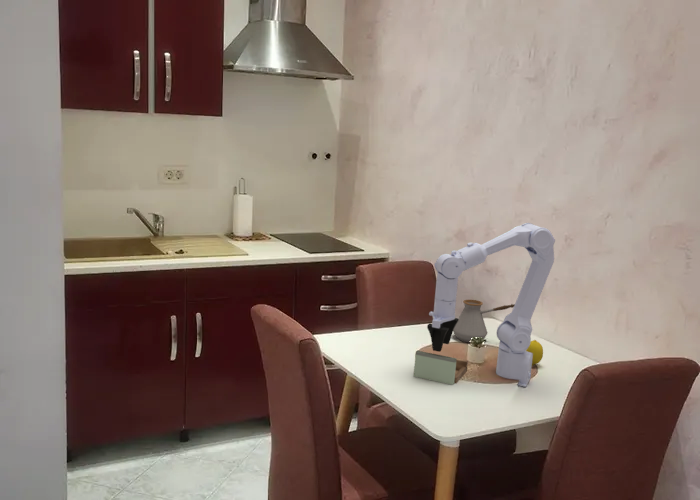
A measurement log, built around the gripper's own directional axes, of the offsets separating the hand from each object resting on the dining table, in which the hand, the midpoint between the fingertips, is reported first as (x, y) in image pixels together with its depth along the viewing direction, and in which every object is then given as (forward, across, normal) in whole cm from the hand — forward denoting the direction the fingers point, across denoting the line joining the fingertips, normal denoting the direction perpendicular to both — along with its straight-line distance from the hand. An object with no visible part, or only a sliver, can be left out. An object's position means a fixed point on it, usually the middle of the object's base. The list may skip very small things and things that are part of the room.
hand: (440, 347), depth 181 cm
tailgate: (+8, +4, 0) cm, 9 cm away
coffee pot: (+10, -42, +3) cm, 43 cm away
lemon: (+10, -28, +21) cm, 36 cm away
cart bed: (+9, -2, 0) cm, 10 cm away
